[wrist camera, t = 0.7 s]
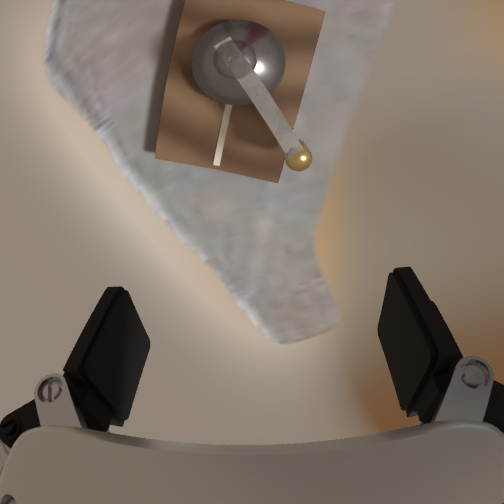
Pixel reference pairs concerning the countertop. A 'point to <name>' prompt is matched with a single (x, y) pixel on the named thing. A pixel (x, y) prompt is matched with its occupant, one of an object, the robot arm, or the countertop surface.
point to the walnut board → (234, 116)
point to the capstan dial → (248, 77)
